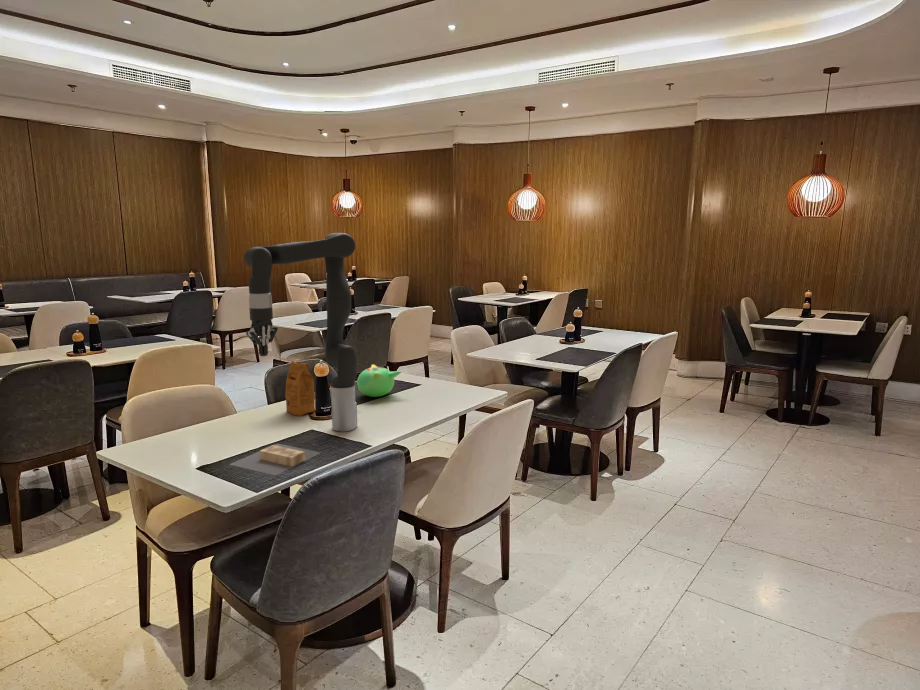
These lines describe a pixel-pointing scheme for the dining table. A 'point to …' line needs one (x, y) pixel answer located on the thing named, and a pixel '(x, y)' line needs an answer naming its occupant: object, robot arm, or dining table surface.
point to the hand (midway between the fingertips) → (263, 355)
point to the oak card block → (282, 455)
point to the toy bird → (376, 381)
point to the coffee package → (299, 390)
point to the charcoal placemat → (269, 467)
